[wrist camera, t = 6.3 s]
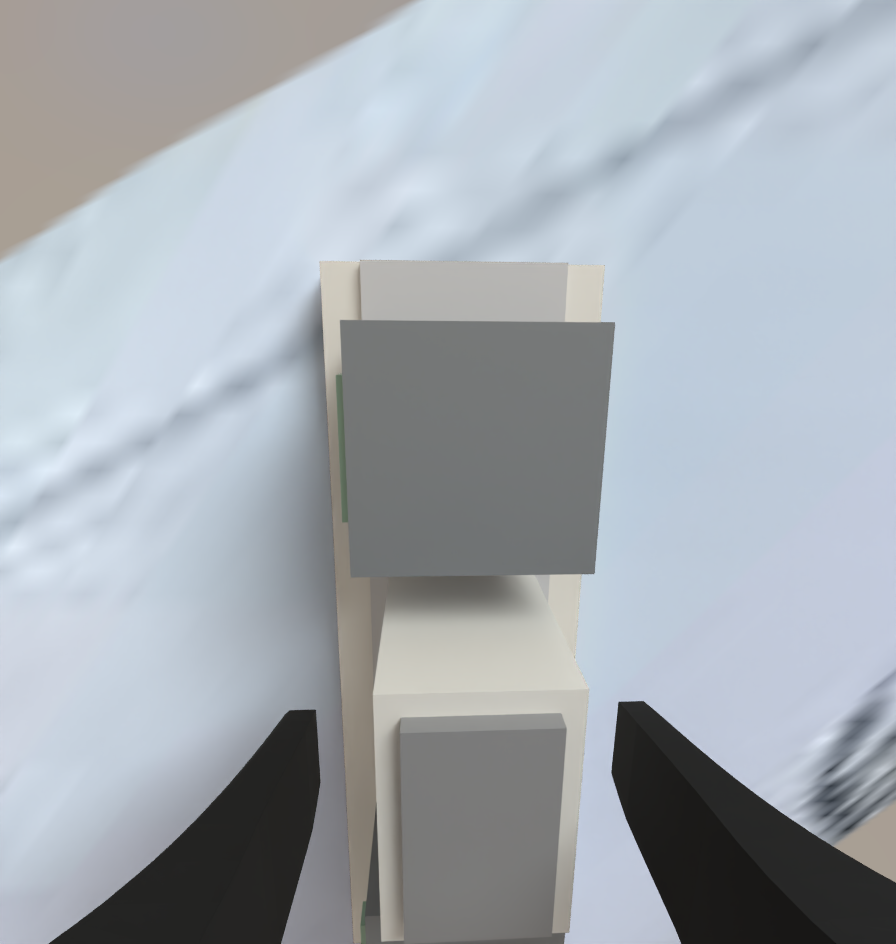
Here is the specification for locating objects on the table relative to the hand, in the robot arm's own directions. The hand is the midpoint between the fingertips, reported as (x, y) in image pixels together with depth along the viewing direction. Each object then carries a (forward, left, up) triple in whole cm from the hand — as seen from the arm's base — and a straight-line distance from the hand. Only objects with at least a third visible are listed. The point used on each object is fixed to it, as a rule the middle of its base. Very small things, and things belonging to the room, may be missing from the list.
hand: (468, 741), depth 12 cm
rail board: (0, 0, -4) cm, 4 cm away
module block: (0, 0, -3) cm, 3 cm away
